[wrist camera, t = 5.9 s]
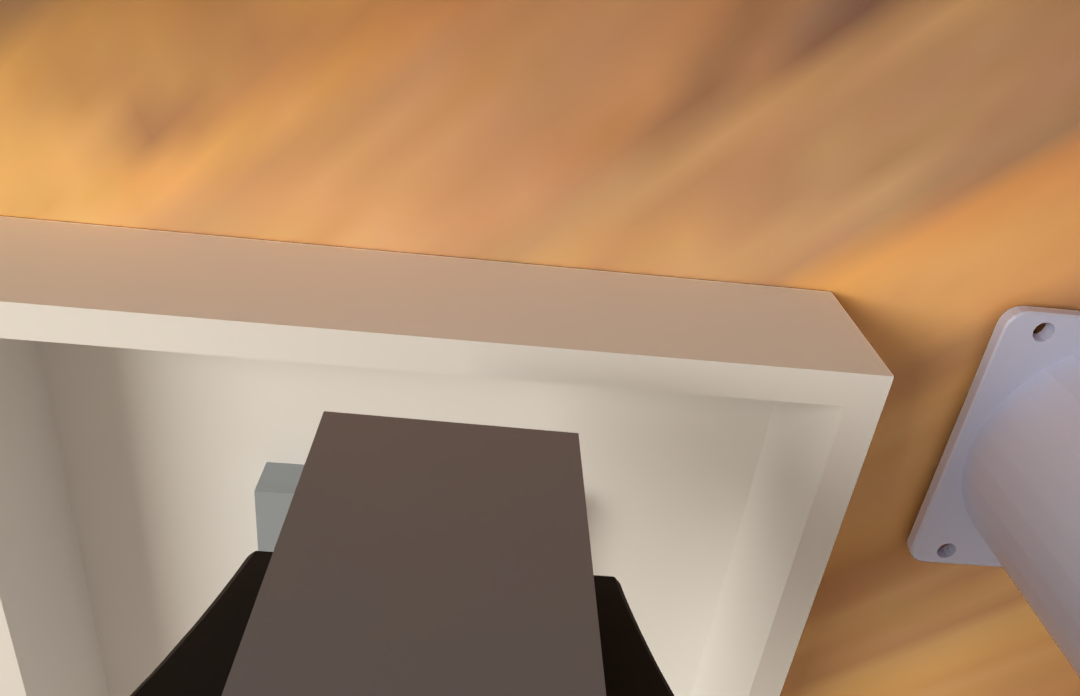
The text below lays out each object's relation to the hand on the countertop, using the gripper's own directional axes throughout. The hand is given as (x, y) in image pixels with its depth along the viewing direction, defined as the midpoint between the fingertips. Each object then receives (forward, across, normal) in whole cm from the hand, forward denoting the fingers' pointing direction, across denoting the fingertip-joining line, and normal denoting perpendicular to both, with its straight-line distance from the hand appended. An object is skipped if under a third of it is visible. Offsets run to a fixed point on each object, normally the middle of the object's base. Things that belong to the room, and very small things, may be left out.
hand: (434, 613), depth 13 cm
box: (+9, +1, +8) cm, 12 cm away
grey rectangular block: (+2, 0, 0) cm, 2 cm away
